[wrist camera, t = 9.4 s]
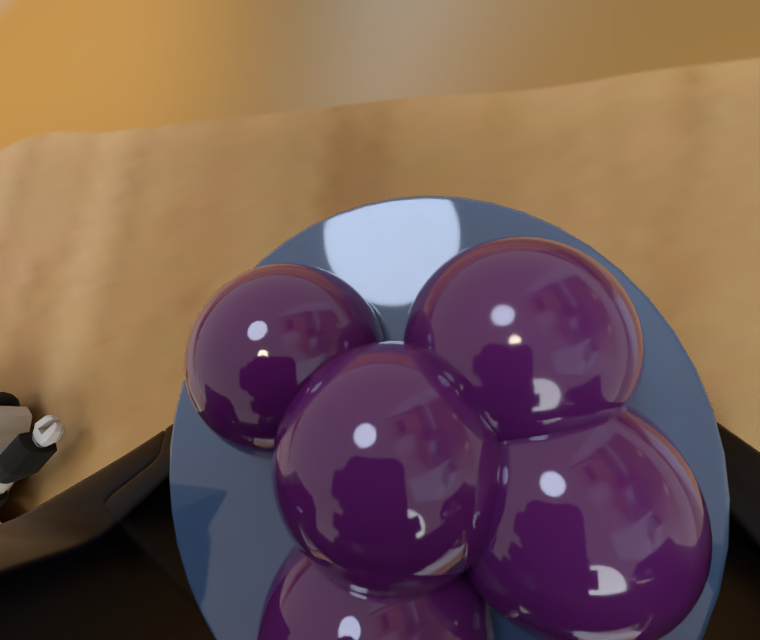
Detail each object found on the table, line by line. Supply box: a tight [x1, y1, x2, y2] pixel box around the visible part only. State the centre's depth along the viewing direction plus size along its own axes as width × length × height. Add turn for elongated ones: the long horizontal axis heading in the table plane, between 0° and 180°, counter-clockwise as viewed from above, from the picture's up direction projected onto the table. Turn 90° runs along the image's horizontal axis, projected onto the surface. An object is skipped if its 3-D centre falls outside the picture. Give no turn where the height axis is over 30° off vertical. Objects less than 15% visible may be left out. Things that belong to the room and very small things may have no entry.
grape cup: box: [169, 196, 730, 640], centre depth 9 cm, size 7×7×13 cm
